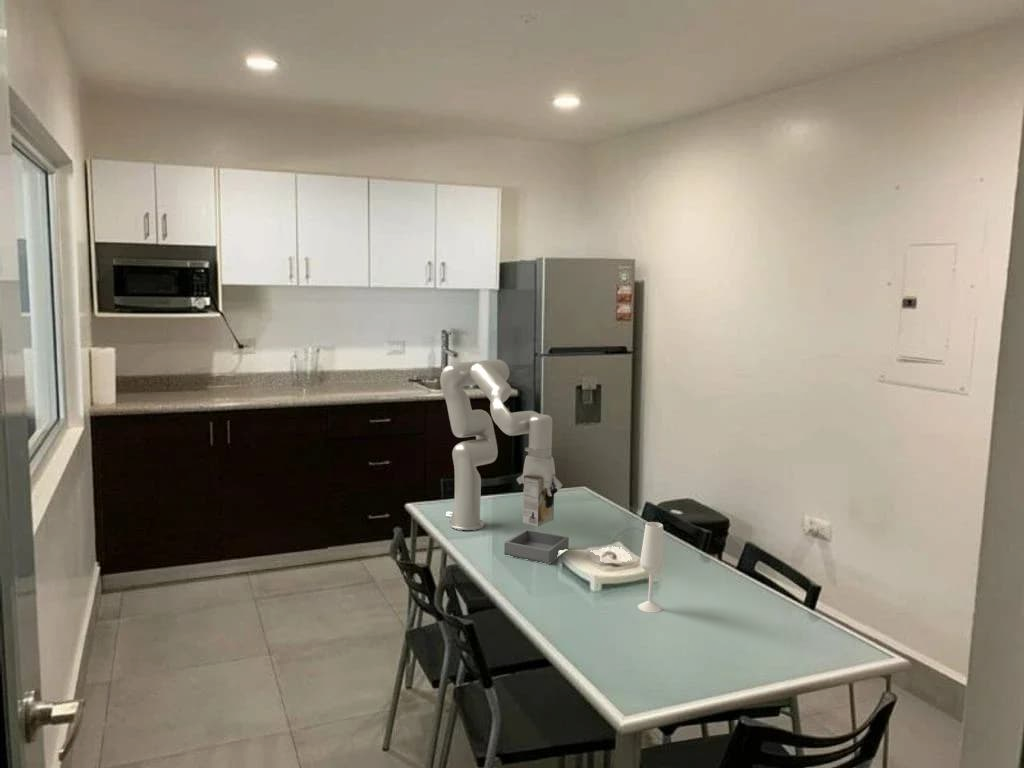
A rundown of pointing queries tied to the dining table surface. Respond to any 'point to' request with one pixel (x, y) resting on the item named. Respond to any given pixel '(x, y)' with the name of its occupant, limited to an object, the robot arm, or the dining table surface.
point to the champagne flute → (652, 560)
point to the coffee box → (536, 502)
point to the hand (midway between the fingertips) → (538, 504)
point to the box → (536, 546)
